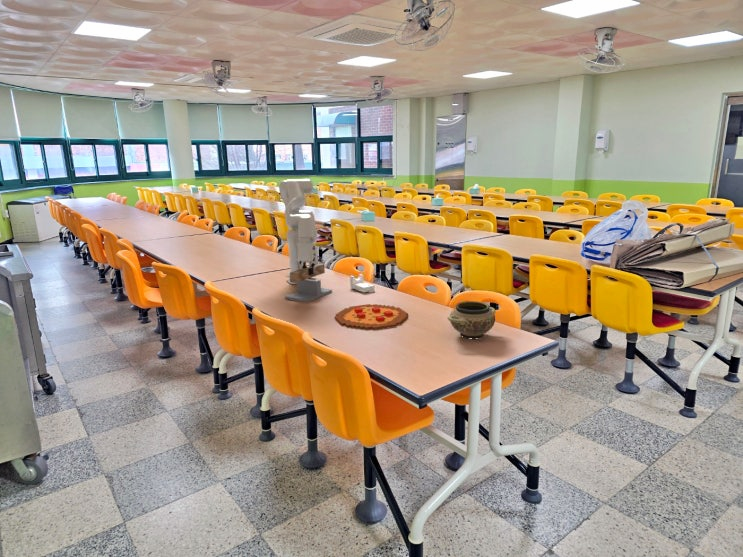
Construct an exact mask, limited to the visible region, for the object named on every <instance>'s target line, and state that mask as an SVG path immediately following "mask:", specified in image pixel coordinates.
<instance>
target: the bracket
mask: <svg viewBox="0 0 743 557" xmlns="http://www.w3.org/2000/svg"><path fill="white" fill-rule="evenodd" d="M349 278H350V280H349V281H350V283H349V284H350V289H354V290H356V291H359V292H361V293H374V292H375V285H374V284H371V283H368V282H365V281H364V274H362V273H359V275H358V277H357V278H355V276H354V275H350V276H349ZM373 291H374V292H373Z"/></svg>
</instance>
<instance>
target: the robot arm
mask: <svg viewBox="0 0 743 557" xmlns="http://www.w3.org/2000/svg"><path fill="white" fill-rule="evenodd" d="M278 190H279V193H280V197H281V199H282V202H283V203H284V207H285V210H284V219H285V223H286V226H287V228H288V230H287V232H286V234H285V235H286V241H287V246H288V256H289V270H290V271H289V273H288V272H287V274H286V275H285V276H286V278H289V279H288V283H289V284H291V285H297V283H293V282H290V272H293V271H296V270H300V269H303V268H306V267H309V268H308V269H309V275H313V274H314V272H313V267H314V266H315V265H316V264H319V261H318V250H317V246H316V243H317V241H318V232H317V227H316V218H315V214H314V212H313V211H311V209H310V210H304V209H302V210H301V208H303V207H304V206H305V205H306V203H307V199H306V196H305V195H313V193H314V184H313V181H312V179H309V178H301V179H300V178H298V179H286V180H281V181H280V182H279V185H278ZM307 263H308V265H307Z"/></svg>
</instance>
